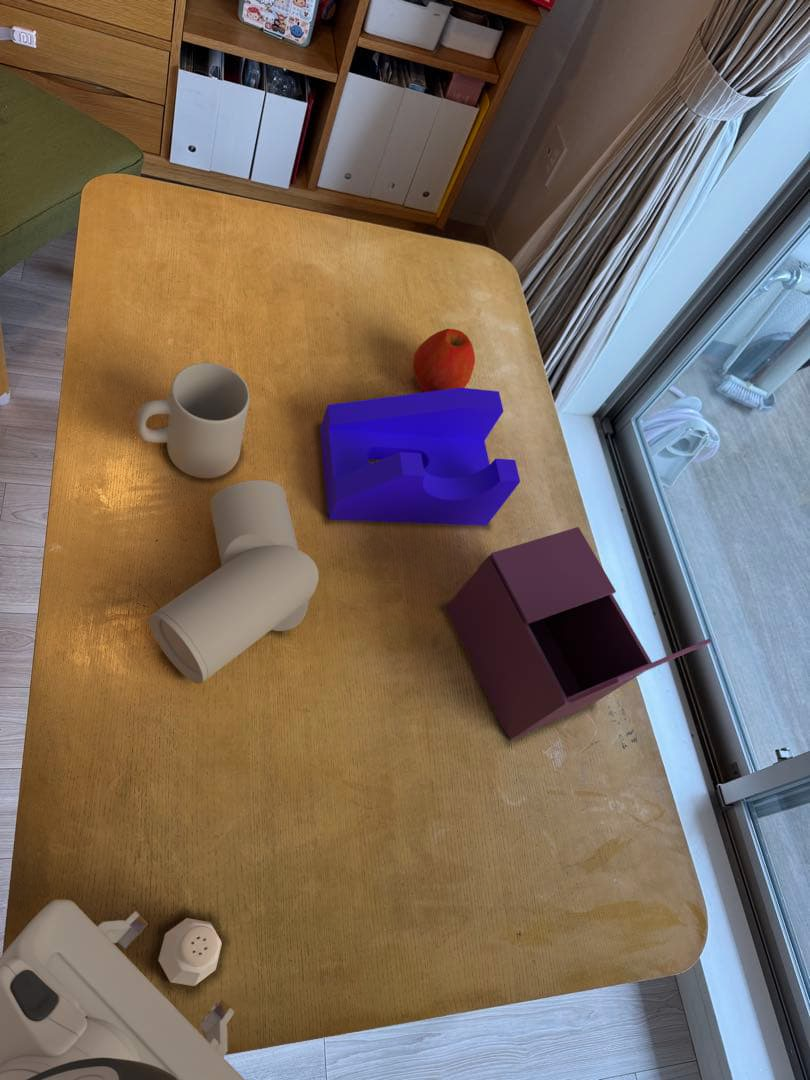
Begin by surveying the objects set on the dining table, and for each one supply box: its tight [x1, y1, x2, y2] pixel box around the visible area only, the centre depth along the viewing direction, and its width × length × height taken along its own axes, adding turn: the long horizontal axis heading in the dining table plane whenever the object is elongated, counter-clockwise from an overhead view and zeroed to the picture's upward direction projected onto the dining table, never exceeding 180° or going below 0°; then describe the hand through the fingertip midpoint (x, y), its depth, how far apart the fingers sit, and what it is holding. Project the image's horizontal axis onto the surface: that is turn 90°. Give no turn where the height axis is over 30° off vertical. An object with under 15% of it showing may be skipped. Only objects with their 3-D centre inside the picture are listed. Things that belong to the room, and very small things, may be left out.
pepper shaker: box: [157, 917, 223, 987], centre depth 63 cm, size 5×5×11 cm
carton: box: [444, 526, 653, 741], centre depth 86 cm, size 17×12×14 cm
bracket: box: [319, 387, 521, 526], centre depth 96 cm, size 21×14×10 cm, turn 98°
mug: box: [136, 362, 251, 479], centre depth 88 cm, size 12×8×11 cm
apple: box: [412, 328, 476, 392], centre depth 105 cm, size 8×8×11 cm
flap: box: [569, 638, 712, 703], centre depth 74 cm, size 8×12×1 cm
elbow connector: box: [148, 479, 320, 685], centre depth 81 cm, size 18×10×20 cm
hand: (179, 965), depth 60 cm, fingers open, 8 cm apart
